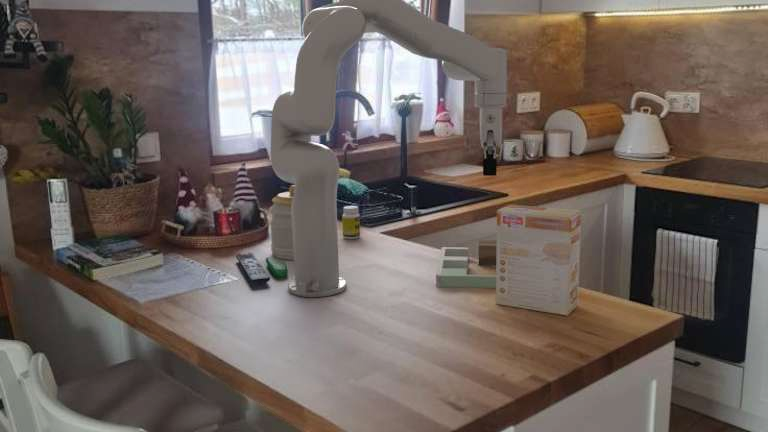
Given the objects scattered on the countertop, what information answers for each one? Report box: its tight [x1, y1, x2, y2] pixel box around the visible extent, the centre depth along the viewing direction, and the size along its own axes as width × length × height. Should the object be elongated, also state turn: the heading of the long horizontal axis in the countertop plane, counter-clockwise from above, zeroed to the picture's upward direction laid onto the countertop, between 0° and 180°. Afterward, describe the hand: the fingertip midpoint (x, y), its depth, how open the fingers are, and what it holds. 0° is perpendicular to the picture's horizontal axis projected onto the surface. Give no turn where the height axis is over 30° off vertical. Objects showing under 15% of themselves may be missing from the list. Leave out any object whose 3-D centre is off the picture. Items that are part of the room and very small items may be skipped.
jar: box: [268, 184, 295, 261], centre depth 190 cm, size 13×13×18 cm
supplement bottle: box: [341, 205, 361, 240], centre depth 206 cm, size 5×5×8 cm
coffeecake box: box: [495, 204, 582, 317], centre depth 149 cm, size 15×7×20 cm, turn 59°
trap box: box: [435, 246, 496, 289], centre depth 174 cm, size 23×18×2 cm
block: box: [478, 239, 497, 267], centre depth 180 cm, size 5×5×5 cm
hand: (489, 172), depth 187 cm, fingers open, 7 cm apart
